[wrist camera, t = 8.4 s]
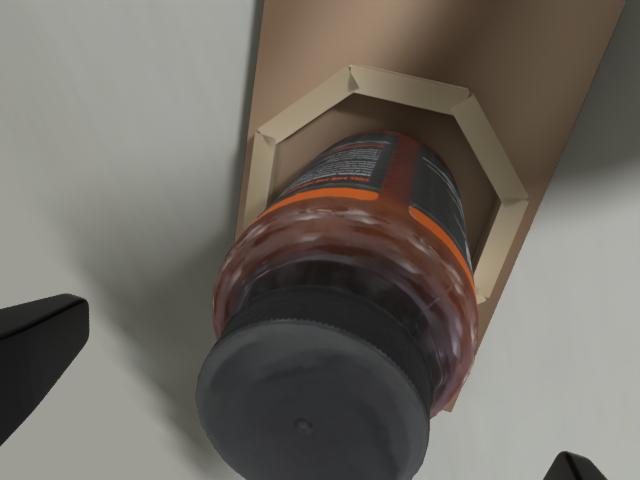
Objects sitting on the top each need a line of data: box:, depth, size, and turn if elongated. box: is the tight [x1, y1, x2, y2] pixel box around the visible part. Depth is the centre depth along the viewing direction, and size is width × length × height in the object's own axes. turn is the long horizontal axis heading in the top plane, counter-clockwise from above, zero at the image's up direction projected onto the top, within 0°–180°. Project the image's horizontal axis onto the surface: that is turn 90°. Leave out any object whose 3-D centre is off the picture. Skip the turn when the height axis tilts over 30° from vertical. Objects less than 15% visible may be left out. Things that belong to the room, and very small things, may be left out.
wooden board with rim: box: [234, 0, 627, 412], centre depth 18 cm, size 11×17×2 cm, turn 169°
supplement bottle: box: [196, 130, 479, 480], centre depth 13 cm, size 6×6×11 cm
